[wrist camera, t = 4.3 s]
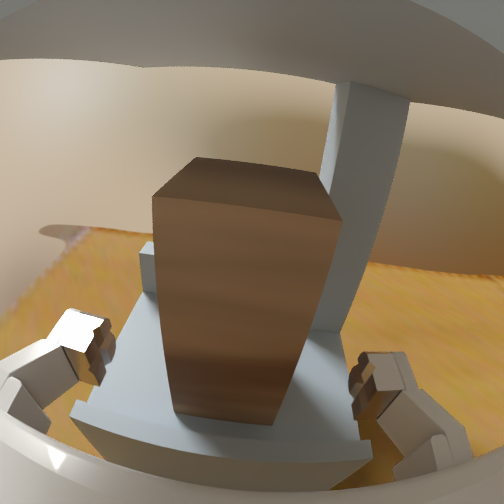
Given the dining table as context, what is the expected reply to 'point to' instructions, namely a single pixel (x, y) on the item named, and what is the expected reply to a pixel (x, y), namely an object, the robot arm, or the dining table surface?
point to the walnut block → (239, 282)
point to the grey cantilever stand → (331, 175)
